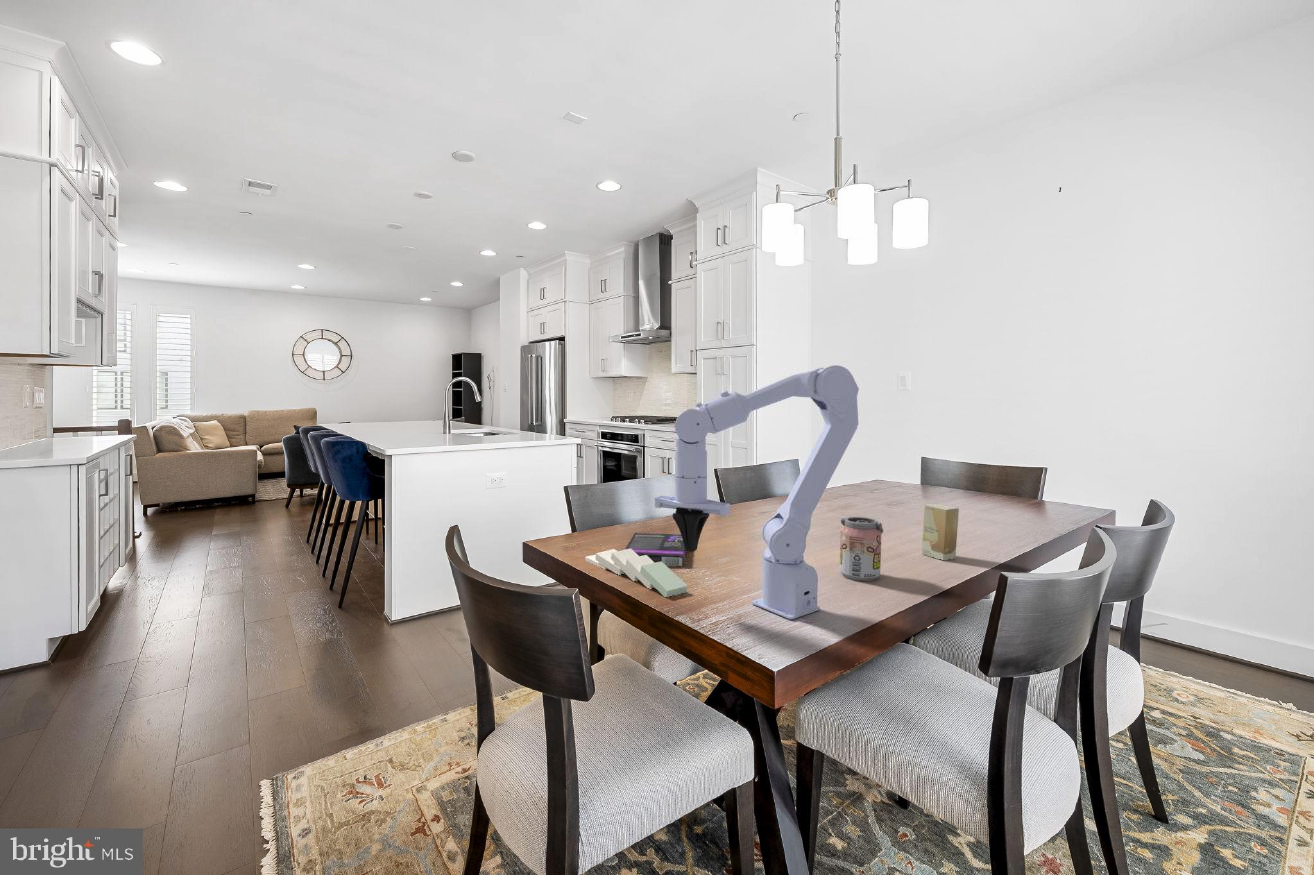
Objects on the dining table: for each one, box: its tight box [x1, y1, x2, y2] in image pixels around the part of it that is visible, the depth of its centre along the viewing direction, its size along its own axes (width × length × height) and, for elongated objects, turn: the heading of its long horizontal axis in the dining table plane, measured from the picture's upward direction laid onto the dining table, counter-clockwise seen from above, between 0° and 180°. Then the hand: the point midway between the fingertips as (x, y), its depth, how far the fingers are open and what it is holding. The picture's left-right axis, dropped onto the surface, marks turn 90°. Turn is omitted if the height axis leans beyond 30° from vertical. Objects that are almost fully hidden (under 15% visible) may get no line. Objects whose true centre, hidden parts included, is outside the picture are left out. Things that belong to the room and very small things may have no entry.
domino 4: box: [625, 555, 656, 590], centre depth 115 cm, size 2×5×9 cm
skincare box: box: [921, 503, 960, 561], centre depth 132 cm, size 6×4×12 cm
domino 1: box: [584, 554, 609, 570], centre depth 128 cm, size 2×5×9 cm
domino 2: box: [595, 548, 624, 576], centre depth 123 cm, size 2×5×9 cm
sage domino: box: [640, 562, 689, 598], centre depth 110 cm, size 2×5×9 cm
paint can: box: [839, 516, 884, 582], centre depth 119 cm, size 9×8×12 cm
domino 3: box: [611, 549, 640, 582], centre depth 119 cm, size 2×5×9 cm
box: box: [624, 532, 687, 567], centre depth 135 cm, size 14×4×20 cm
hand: (691, 550), depth 102 cm, fingers closed
